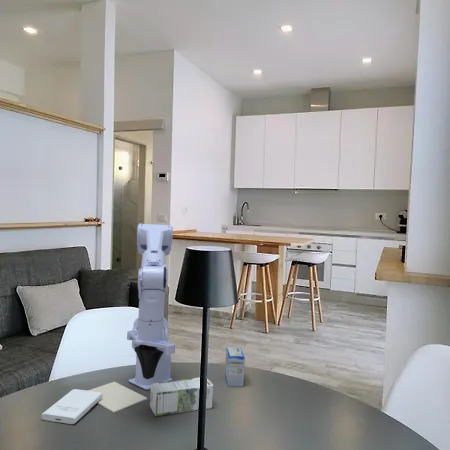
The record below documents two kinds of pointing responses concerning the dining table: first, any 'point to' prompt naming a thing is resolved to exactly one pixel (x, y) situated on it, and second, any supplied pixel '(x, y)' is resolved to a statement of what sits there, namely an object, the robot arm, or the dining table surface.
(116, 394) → the mat
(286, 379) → the dining table surface
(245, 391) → the dining table surface
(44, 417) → the external hard drive
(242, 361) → the medicine box
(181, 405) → the syrup box
